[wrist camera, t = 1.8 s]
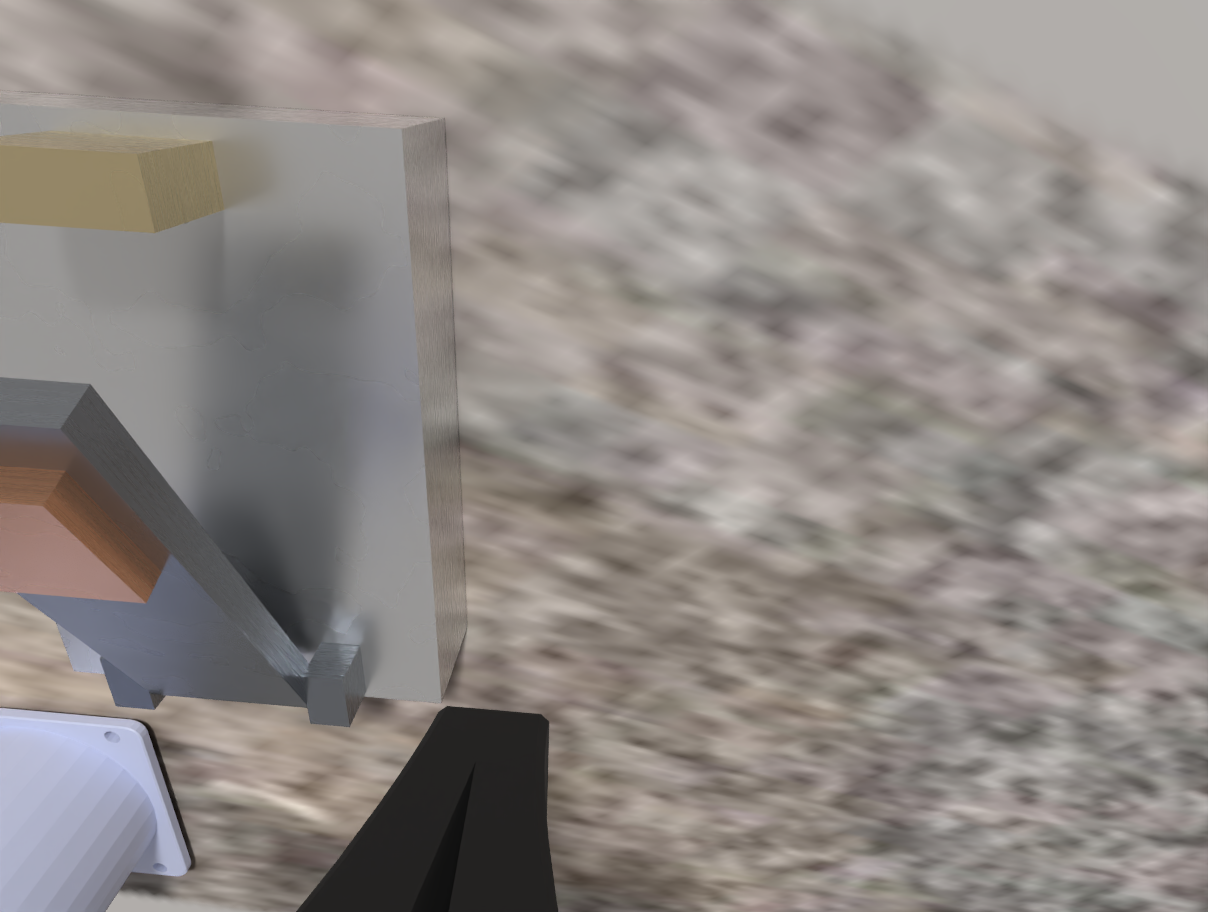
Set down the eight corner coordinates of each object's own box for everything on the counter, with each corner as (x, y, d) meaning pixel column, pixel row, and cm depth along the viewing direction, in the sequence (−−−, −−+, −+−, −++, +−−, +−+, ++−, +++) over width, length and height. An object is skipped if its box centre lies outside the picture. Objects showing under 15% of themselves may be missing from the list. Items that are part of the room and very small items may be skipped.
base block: (142, 600, 23) (11, 736, 18) (-12, 89, 16) (-279, 99, 12) (467, 627, 22) (417, 773, 18) (444, 118, 16) (357, 140, 11)
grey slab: (166, 663, 19) (141, 717, 18) (-190, 363, 10) (-270, 441, 9) (319, 676, 19) (301, 732, 18) (90, 383, 10) (35, 465, 9)
